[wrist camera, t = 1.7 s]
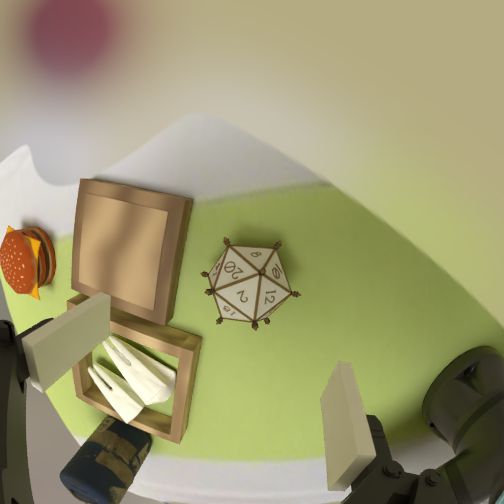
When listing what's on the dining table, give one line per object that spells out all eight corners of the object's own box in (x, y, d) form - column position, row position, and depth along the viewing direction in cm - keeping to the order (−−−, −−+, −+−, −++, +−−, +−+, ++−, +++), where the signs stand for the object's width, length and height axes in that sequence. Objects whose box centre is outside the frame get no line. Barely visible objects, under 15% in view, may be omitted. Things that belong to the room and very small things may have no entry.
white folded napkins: (187, 380, 35) (130, 317, 34) (176, 398, 30) (113, 329, 30) (137, 409, 37) (89, 355, 37) (125, 425, 33) (73, 367, 32)
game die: (241, 268, 35) (167, 279, 27) (281, 217, 30) (202, 215, 23) (281, 332, 31) (208, 361, 24) (333, 286, 26) (260, 311, 19)
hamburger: (58, 232, 33) (25, 240, 27) (57, 294, 36) (27, 309, 29) (22, 219, 34) (-8, 224, 28) (22, 275, 36) (-6, 286, 30)
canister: (153, 455, 40) (114, 526, 22) (108, 434, 41) (62, 496, 23) (154, 425, 38) (105, 506, 20) (104, 402, 38) (46, 470, 21)
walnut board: (193, 199, 30) (184, 200, 27) (172, 317, 33) (164, 326, 30) (92, 178, 31) (79, 178, 28) (82, 283, 34) (70, 289, 31)
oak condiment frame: (202, 337, 33) (193, 351, 30) (186, 429, 37) (179, 444, 33) (82, 292, 34) (66, 300, 31) (87, 385, 38) (76, 396, 35)
